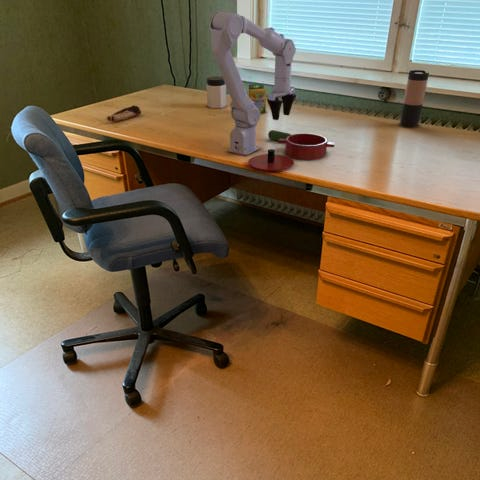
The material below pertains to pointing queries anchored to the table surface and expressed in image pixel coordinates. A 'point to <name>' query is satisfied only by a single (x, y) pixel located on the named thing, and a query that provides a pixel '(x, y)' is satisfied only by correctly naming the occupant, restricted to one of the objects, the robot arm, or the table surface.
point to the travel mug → (414, 98)
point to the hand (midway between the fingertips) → (281, 117)
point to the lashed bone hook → (125, 114)
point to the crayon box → (258, 96)
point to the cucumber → (277, 135)
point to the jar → (216, 92)
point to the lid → (270, 162)
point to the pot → (306, 146)
